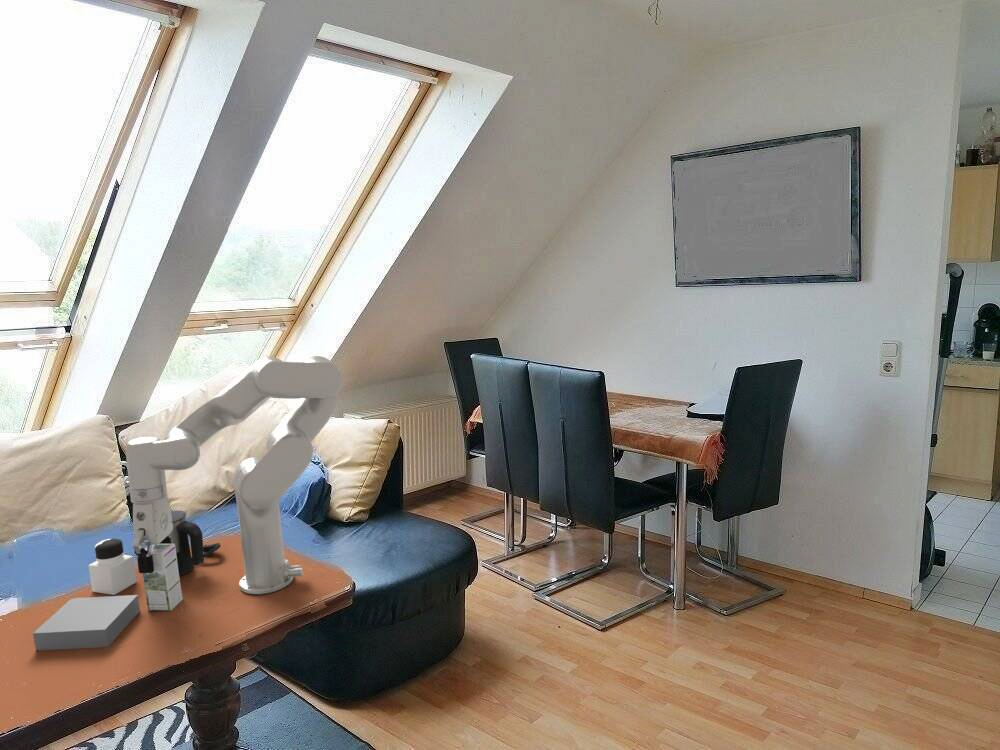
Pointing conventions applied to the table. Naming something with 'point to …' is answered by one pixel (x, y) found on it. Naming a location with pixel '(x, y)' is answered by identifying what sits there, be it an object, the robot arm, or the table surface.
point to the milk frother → (182, 543)
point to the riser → (87, 623)
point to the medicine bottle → (111, 568)
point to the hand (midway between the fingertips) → (156, 563)
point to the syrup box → (163, 579)
